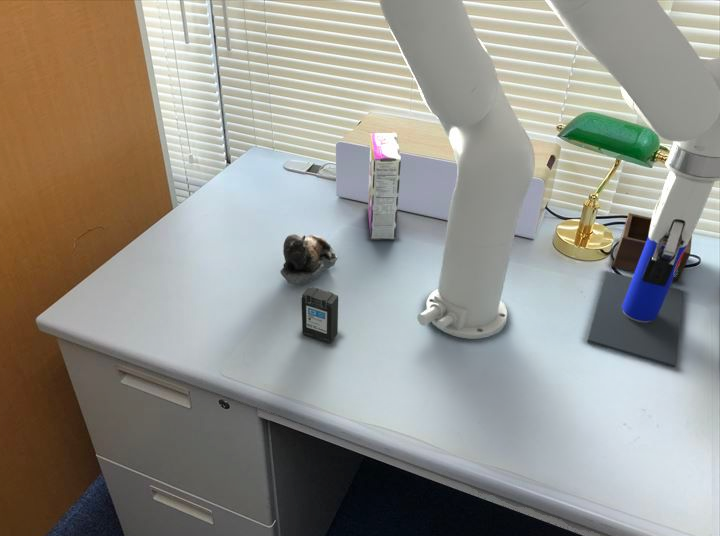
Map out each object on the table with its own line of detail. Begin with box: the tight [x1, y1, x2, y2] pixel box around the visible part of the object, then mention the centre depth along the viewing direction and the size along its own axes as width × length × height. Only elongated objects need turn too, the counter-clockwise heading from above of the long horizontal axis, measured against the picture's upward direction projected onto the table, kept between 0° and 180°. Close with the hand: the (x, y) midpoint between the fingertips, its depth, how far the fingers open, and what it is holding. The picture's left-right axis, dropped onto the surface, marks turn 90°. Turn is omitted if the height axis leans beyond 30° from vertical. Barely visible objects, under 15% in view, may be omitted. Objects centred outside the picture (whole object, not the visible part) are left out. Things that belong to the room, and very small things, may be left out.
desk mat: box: [586, 270, 684, 368], centre depth 99 cm, size 20×12×1 cm, turn 153°
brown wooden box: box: [612, 212, 693, 284], centre depth 109 cm, size 9×10×6 cm
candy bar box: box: [367, 132, 402, 241], centre depth 116 cm, size 11×5×16 cm, turn 179°
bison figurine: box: [279, 233, 339, 287], centre depth 105 cm, size 12×7×10 cm, turn 151°
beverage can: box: [622, 235, 689, 323], centre depth 94 cm, size 5×5×15 cm
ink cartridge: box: [300, 286, 339, 345], centre depth 93 cm, size 5×2×8 cm, turn 63°
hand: (655, 269), depth 93 cm, fingers open, 6 cm apart
